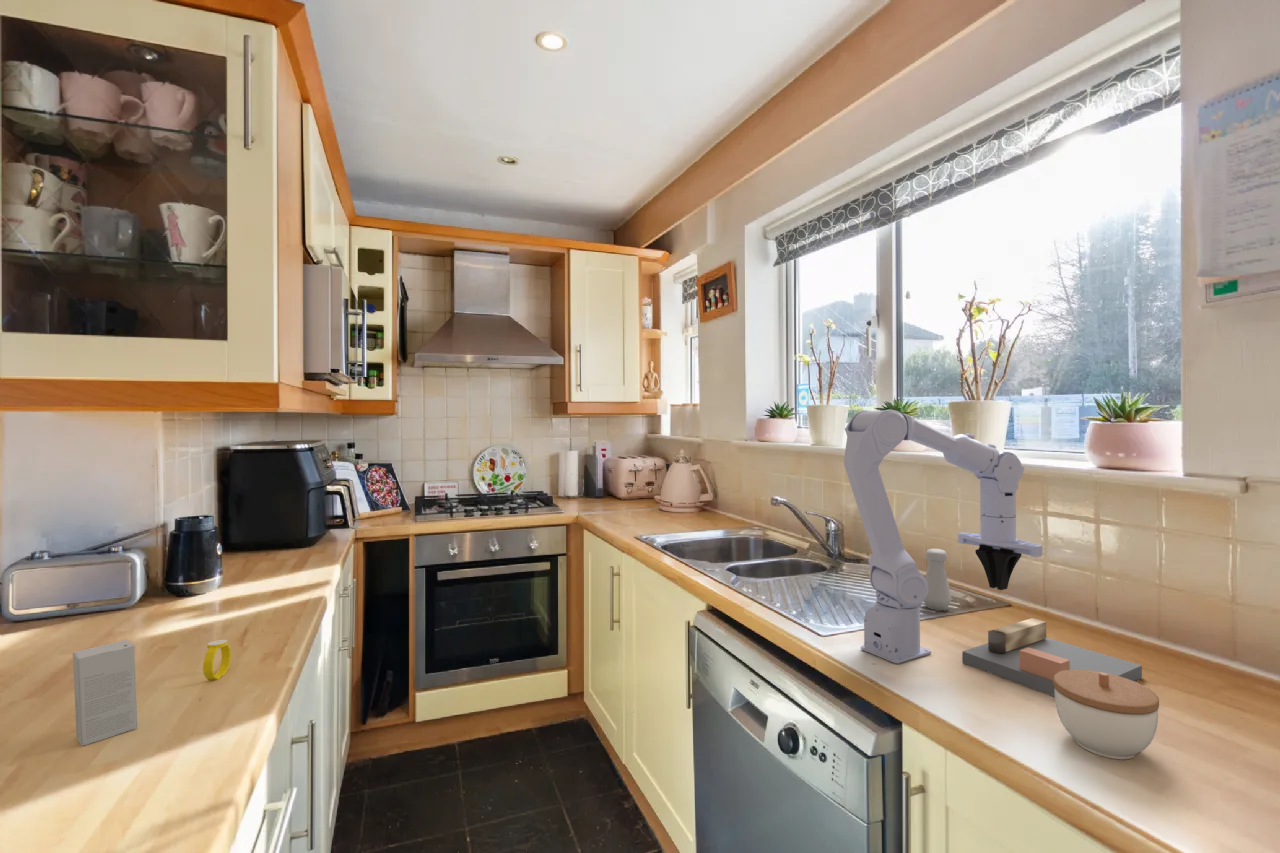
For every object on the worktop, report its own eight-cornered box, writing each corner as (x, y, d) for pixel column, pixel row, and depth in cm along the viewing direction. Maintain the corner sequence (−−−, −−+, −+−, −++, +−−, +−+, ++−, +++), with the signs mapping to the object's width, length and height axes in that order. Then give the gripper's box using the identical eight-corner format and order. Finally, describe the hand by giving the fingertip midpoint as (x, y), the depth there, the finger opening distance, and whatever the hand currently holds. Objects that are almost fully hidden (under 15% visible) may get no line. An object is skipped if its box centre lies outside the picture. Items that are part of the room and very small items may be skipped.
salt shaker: (948, 614, 128) (948, 553, 128) (919, 609, 132) (919, 550, 131) (953, 606, 133) (953, 548, 133) (925, 602, 136) (925, 545, 136)
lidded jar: (1111, 776, 70) (1111, 697, 70) (1033, 730, 81) (1033, 661, 81) (1182, 764, 72) (1182, 687, 72) (1098, 720, 83) (1097, 653, 83)
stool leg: (1000, 654, 101) (1000, 636, 101) (985, 649, 103) (984, 631, 103) (1046, 638, 108) (1046, 621, 108) (1031, 634, 110) (1031, 617, 110)
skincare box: (131, 719, 87) (129, 638, 87) (137, 729, 84) (135, 645, 84) (74, 737, 82) (71, 651, 82) (79, 747, 80) (77, 658, 80)
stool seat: (1079, 706, 87) (1079, 672, 87) (962, 662, 103) (962, 634, 103) (1141, 677, 96) (1141, 646, 96) (1025, 641, 112) (1025, 615, 112)
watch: (218, 671, 104) (218, 637, 105) (235, 670, 105) (235, 636, 105) (198, 684, 98) (198, 647, 99) (216, 683, 99) (217, 646, 99)
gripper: (1051, 518, 106) (1052, 594, 107) (973, 508, 119) (973, 576, 119) (1029, 522, 103) (1030, 600, 103) (951, 511, 116) (951, 581, 116)
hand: (998, 588), depth 111 cm, fingers closed
